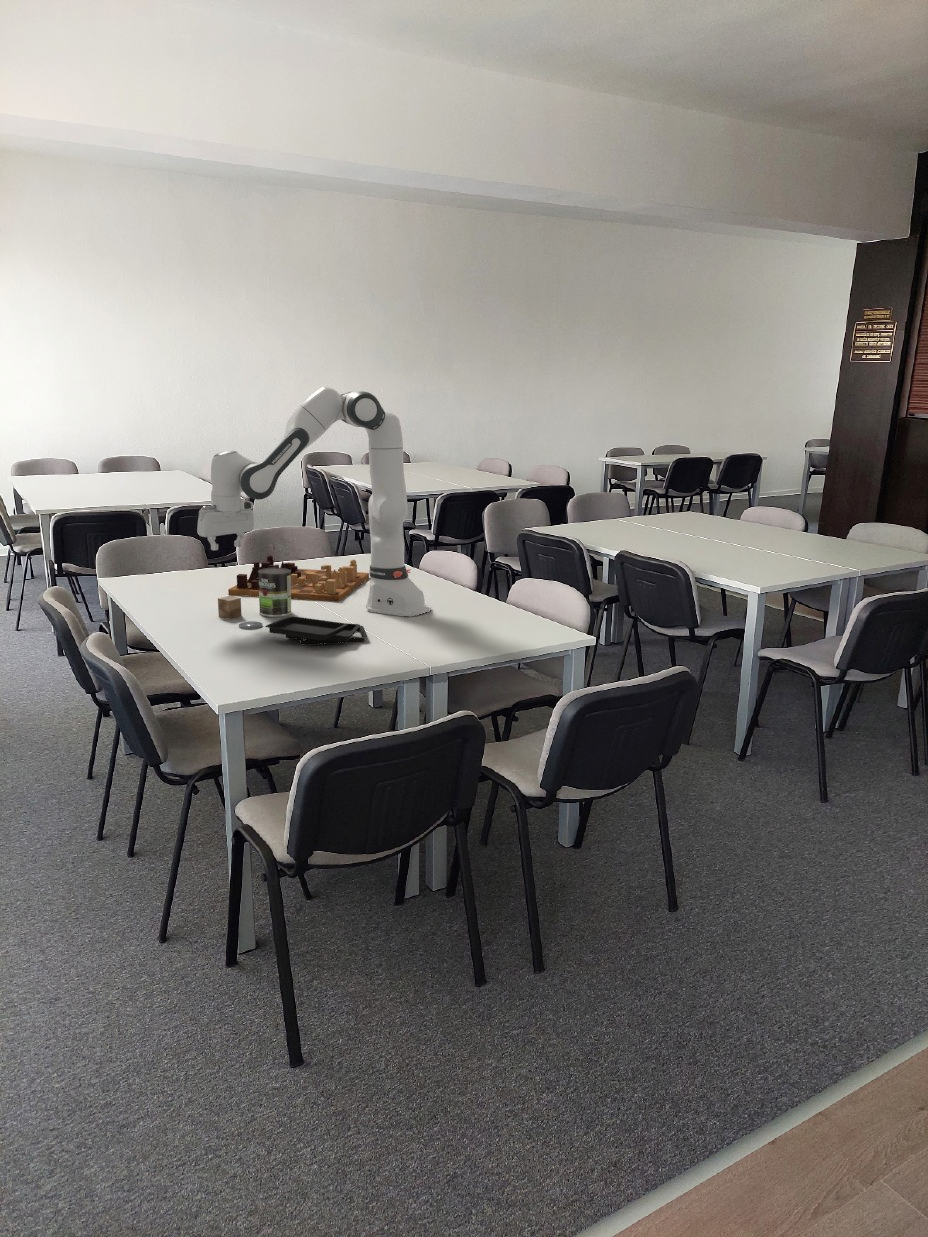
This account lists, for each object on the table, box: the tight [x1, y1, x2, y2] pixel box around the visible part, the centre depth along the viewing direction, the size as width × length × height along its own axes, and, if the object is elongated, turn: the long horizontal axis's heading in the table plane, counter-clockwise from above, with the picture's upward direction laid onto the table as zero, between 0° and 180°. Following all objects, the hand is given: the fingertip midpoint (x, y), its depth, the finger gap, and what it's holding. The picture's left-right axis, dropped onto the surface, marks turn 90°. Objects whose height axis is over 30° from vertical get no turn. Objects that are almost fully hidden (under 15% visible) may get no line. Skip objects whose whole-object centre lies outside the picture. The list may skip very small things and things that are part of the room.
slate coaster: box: [238, 620, 263, 630], centre depth 273 cm, size 7×7×1 cm
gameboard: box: [227, 554, 370, 602], centre depth 328 cm, size 40×40×9 cm
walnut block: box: [217, 595, 243, 620], centre depth 284 cm, size 5×5×6 cm
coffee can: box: [258, 567, 292, 618], centre depth 288 cm, size 10×10×14 cm
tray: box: [265, 615, 369, 646], centre depth 260 cm, size 30×23×5 cm
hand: (226, 548), depth 280 cm, fingers open, 8 cm apart
